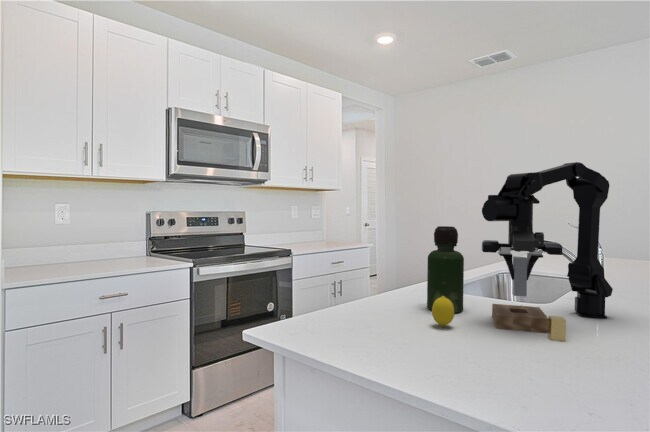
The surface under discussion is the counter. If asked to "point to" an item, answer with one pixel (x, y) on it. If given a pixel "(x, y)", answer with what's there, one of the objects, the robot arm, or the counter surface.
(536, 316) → the socket block
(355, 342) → the counter surface
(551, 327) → the short pin
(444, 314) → the lemon
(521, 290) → the long pin
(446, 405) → the counter surface
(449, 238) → the dark green bottle
